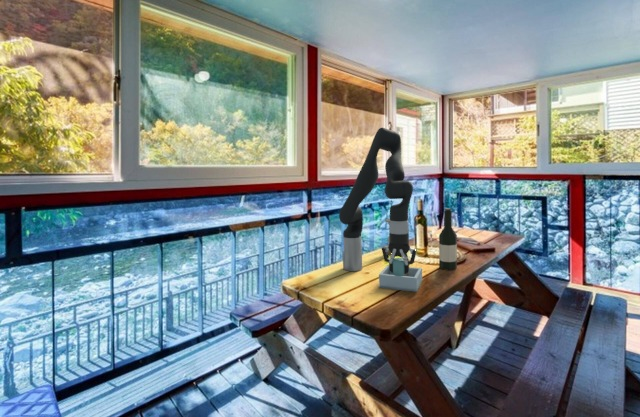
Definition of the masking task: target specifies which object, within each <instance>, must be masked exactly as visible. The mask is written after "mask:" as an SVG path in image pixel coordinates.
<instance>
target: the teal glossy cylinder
mask: <svg viewBox="0 0 640 417" xmlns="http://www.w3.org/2000/svg"><path fill="white" fill-rule="evenodd" d="M393 275H394V276H405V275H406V274H405V262H404V260H403V258H402V257H395V258H394V259H393Z"/></svg>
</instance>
